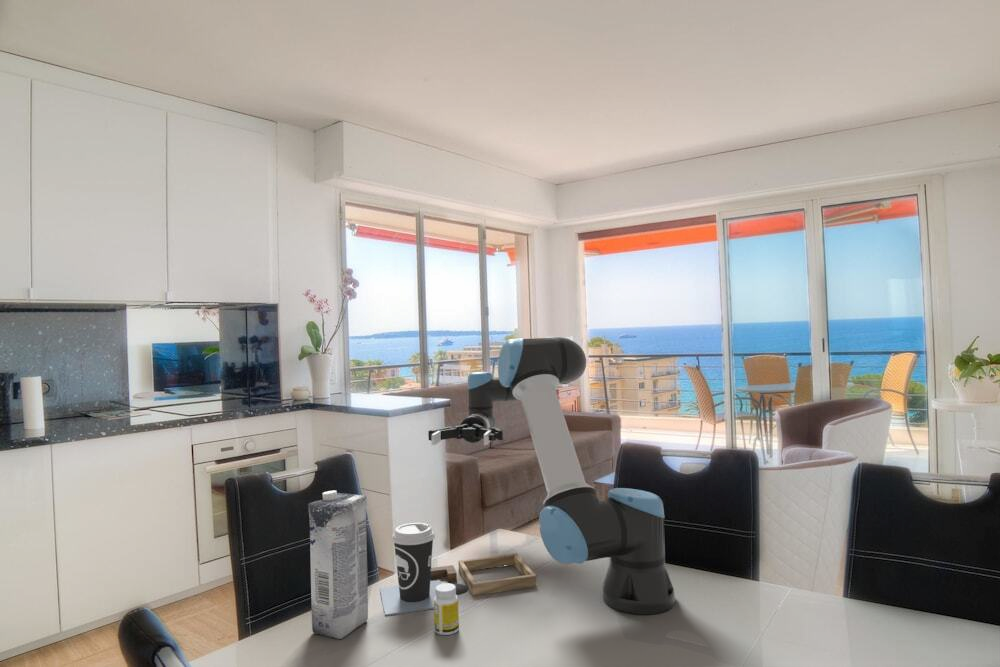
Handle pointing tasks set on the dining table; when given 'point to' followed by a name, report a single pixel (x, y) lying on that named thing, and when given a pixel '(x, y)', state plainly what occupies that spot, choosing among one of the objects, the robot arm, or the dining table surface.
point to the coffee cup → (413, 560)
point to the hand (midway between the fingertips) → (458, 440)
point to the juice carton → (338, 563)
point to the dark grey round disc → (460, 588)
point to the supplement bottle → (446, 609)
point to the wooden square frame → (497, 584)
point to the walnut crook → (444, 573)
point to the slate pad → (398, 606)
